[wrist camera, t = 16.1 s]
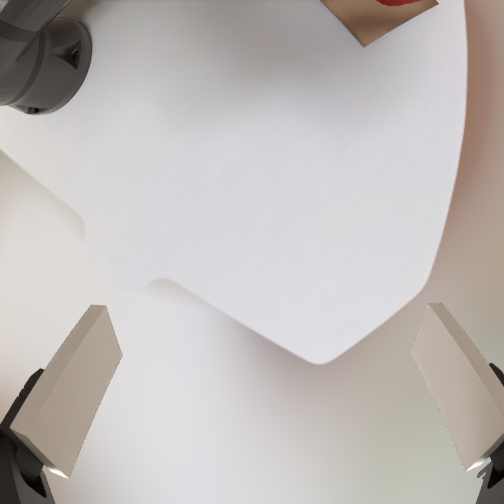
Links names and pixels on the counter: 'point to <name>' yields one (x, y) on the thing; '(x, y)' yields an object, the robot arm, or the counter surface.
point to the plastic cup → (397, 2)
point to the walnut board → (374, 16)
